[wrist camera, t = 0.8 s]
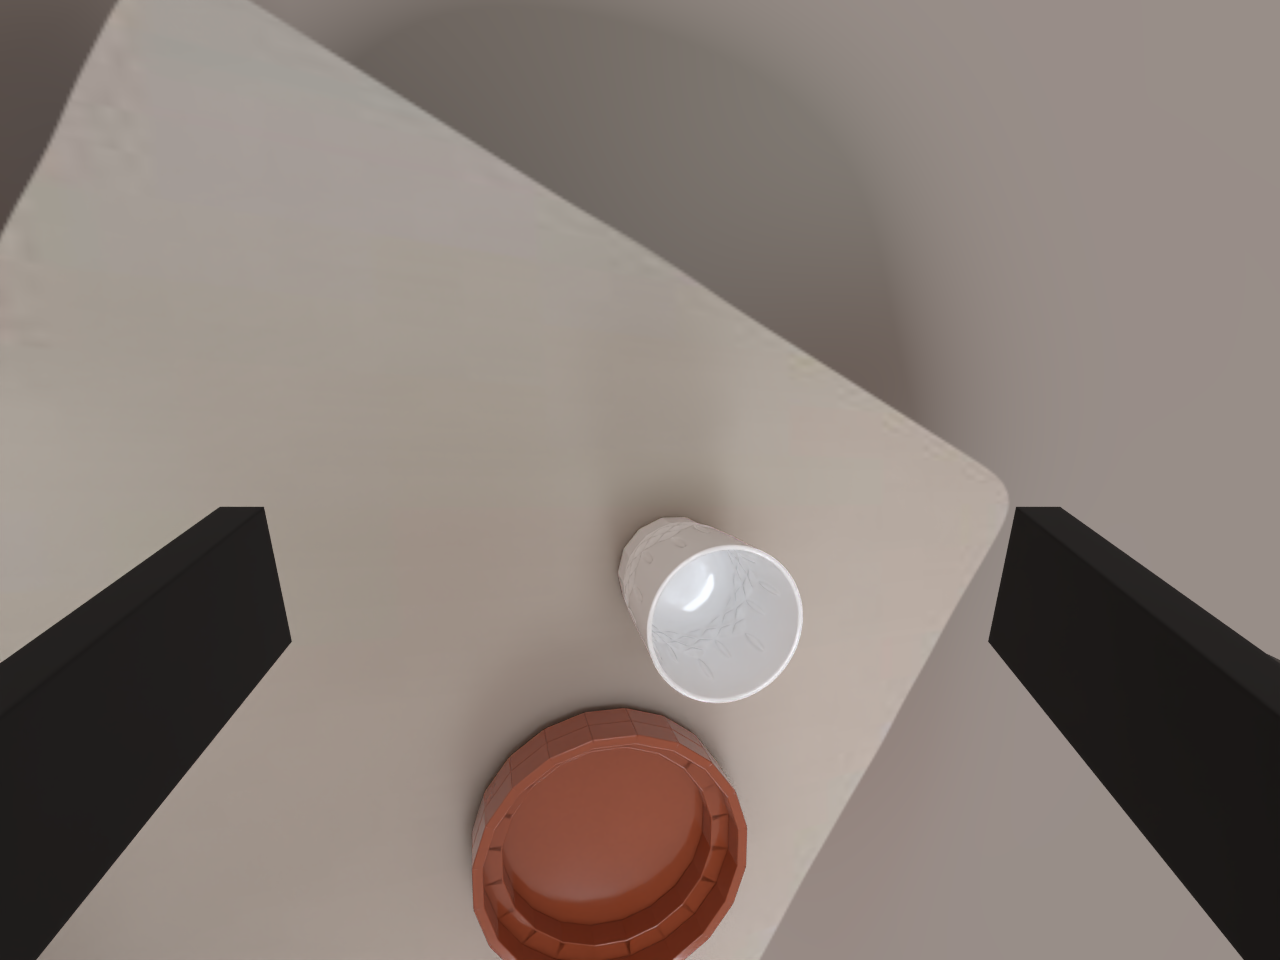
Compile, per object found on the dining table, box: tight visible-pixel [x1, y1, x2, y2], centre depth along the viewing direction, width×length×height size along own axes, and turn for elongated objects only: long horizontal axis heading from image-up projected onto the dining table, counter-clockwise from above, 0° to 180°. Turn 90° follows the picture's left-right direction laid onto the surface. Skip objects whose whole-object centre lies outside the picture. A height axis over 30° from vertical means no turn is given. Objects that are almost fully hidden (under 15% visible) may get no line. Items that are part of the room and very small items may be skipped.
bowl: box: [472, 708, 747, 960], centre depth 43 cm, size 16×16×4 cm
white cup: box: [618, 517, 803, 703], centre depth 39 cm, size 8×8×10 cm
